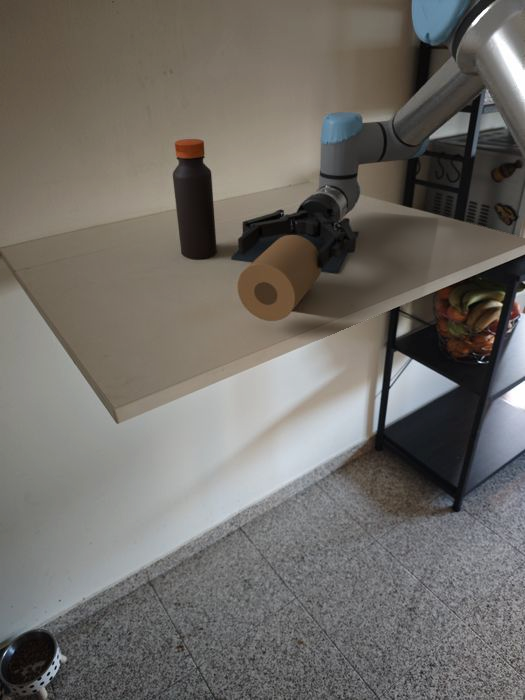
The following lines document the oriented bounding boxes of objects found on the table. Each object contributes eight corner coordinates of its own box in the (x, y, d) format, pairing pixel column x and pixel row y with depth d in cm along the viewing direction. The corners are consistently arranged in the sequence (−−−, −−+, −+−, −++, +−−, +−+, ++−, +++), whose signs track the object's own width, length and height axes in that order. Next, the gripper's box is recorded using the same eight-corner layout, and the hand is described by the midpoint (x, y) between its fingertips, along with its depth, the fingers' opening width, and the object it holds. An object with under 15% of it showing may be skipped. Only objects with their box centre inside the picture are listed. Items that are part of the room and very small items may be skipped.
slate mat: (358, 234, 102) (358, 231, 102) (336, 273, 87) (337, 271, 86) (266, 224, 108) (266, 221, 108) (231, 259, 92) (230, 257, 92)
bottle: (191, 263, 91) (179, 147, 80) (175, 251, 96) (162, 140, 85) (223, 254, 94) (216, 142, 83) (206, 243, 99) (198, 136, 88)
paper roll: (261, 267, 83) (283, 223, 78) (306, 297, 83) (331, 254, 77) (228, 299, 74) (250, 251, 68) (278, 332, 74) (305, 287, 68)
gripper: (261, 185, 97) (208, 220, 80) (390, 199, 88) (359, 241, 72) (261, 223, 101) (211, 263, 85) (385, 240, 92) (354, 288, 76)
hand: (279, 253), depth 78 cm, fingers open, 13 cm apart
